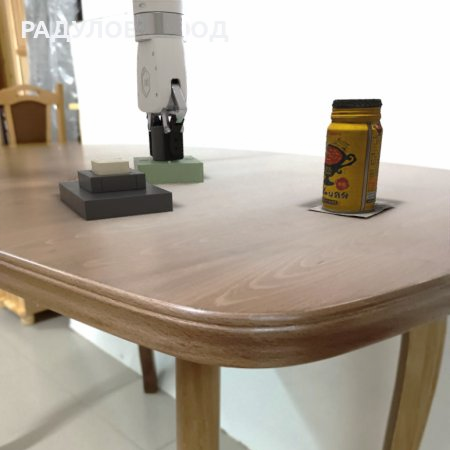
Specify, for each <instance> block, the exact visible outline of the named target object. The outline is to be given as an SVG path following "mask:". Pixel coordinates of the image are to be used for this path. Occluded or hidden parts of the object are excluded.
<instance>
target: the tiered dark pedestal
mask: <svg viewBox="0 0 450 450" xmlns="http://www.w3.org/2000/svg"><path fill="white" fill-rule="evenodd" d="M129 171H130V173H124V174H110V175H99V176H98V175H96V174H94V173H92V169H82V170H77V172H76V173H77V180H74V181H62V182H58V189H59V197H60V200H61V201H62V202H63V203H64V204H66V205H67V206H68V207H69V208H71V210H73V211H74V212H75V213H76V214H78V215H79V216H80V217H82V218H83V219H84V220H85V221H86V222H88V221H89V222H91V221H97V220H98V221H99V220H106V219H107V220H108V219H115V218H116V219H117V218H124V217H125V218H126V217H133V216H141V215H142V216H144V215H150V214H151V215H152V214H161V213H169V212H173V211H174V207H173V206H174V205H173V192H172V191H170V190H167V189H164V188H162V187H160V186H157V185H156V184H150V183H147V182H146V176H145V173H142V172H140V171H137V170H134V168H131V167H129Z"/></svg>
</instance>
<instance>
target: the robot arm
mask: <svg viewBox="0 0 450 450" xmlns="http://www.w3.org/2000/svg"><path fill="white" fill-rule="evenodd" d="M132 13H133V27H134V42H136V43H137V48H136V49H137V51H136V85H137V86H136V89H137V91H136V92H137V108H138V110H140V112H142V113H145V115H146V117H145V118H146V120H147V130H148V131H147V132H148V133H147V134H148V145H149V157H153V153H152V136H151V127H154V126H163V125H164V130H165V133H162V136H163V155H164V160H182V159H183V158H184V156H185V152H184V149H185V148H184V132H185V127H184V123H185V120H186V119H185V117H186V115H187V112H188V103H189V102H188V100H189V97H188V95H189V94H188V93H189V92H188V91H189V90H188V89H189V87H188V74H187V73H188V71H187V62H186V53H185V52H186V51H185V44H184V43H186V42H187V28H186V26H187V25H186V0H132Z"/></svg>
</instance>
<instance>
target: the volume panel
mask: <svg viewBox="0 0 450 450" xmlns="http://www.w3.org/2000/svg"><path fill="white" fill-rule="evenodd" d="M132 158H133V169H134V170H137V171H140V172H142V173H145V176H146V182H147V183H150V184H152V185H172V184H196V183H198V184H199V183H204V182H205V179H204V176H205V175H204V162H203V161H201V160H199V159H198V158H196V157H195V156H193V155H192V154H191V155H184V158H183V159H182V160H175V161H155V160H153V157H152V156H133V157H132Z"/></svg>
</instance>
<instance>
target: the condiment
mask: <svg viewBox="0 0 450 450" xmlns="http://www.w3.org/2000/svg"><path fill="white" fill-rule="evenodd" d="M383 105H384V104H383V101H382V99H381V98H341V99H340V98H337V99H334V100H332V104H331V107H332V108H331V113H330V120H331V122H330V123H329V125H328V126H327V128H326V133H325V135H326V136H325V148H324V149H325V150H324V151H325V152H324V164H323V181H322V197H321V203H322V204H319V205H317V206H315V207H311V208H309V210H311V211H317V212H322V213H328V214H333V215H334V214H335V215H342V216H357V217H364V218H368V217H371V216H374V215H376V214H378V213H381V212H382V211H384V210H385V209H388V208H390V207H392V206H393V205H395V203H390V202H389V203H384V202H383V203H382V202H376V201H377V194H378V193H377V192H378V182H379V181H378V180H379V172H380V171H379V170H380V161H381V152H382V144H383V134H384V128H383V126H382V122H381V119H382V106H383Z"/></svg>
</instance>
